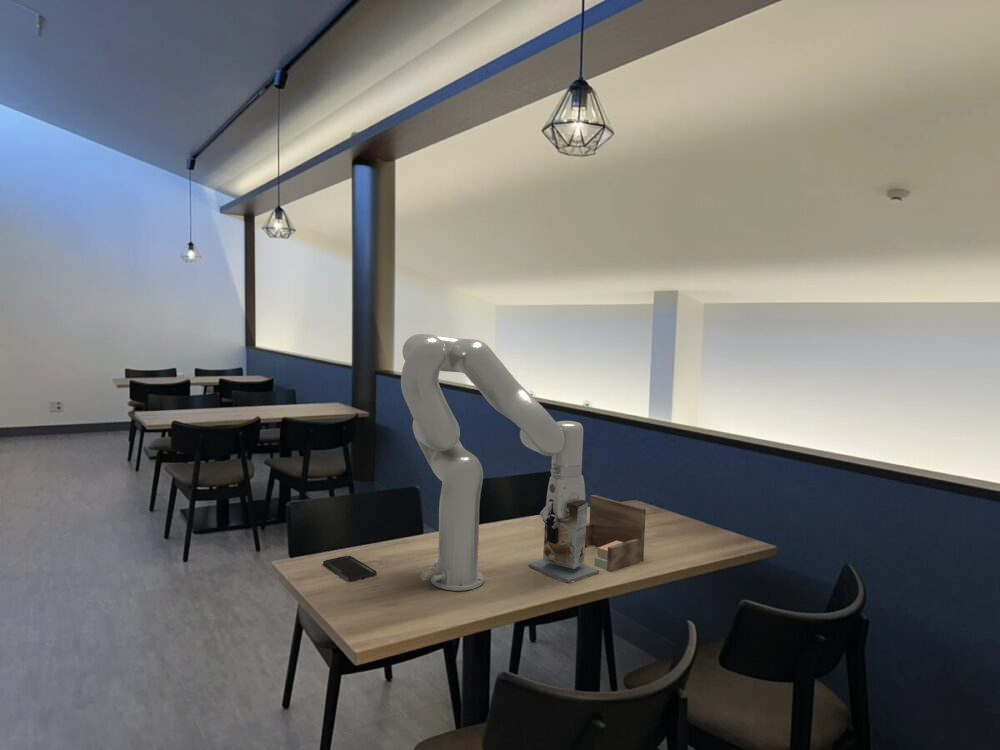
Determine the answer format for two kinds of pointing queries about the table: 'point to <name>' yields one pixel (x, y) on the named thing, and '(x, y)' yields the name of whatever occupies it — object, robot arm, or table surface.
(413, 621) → the table surface
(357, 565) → the phone
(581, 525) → the coffee box
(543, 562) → the mat
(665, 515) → the table surface
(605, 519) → the rack
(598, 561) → the offcut lower
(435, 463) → the robot arm
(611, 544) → the offcut upper
